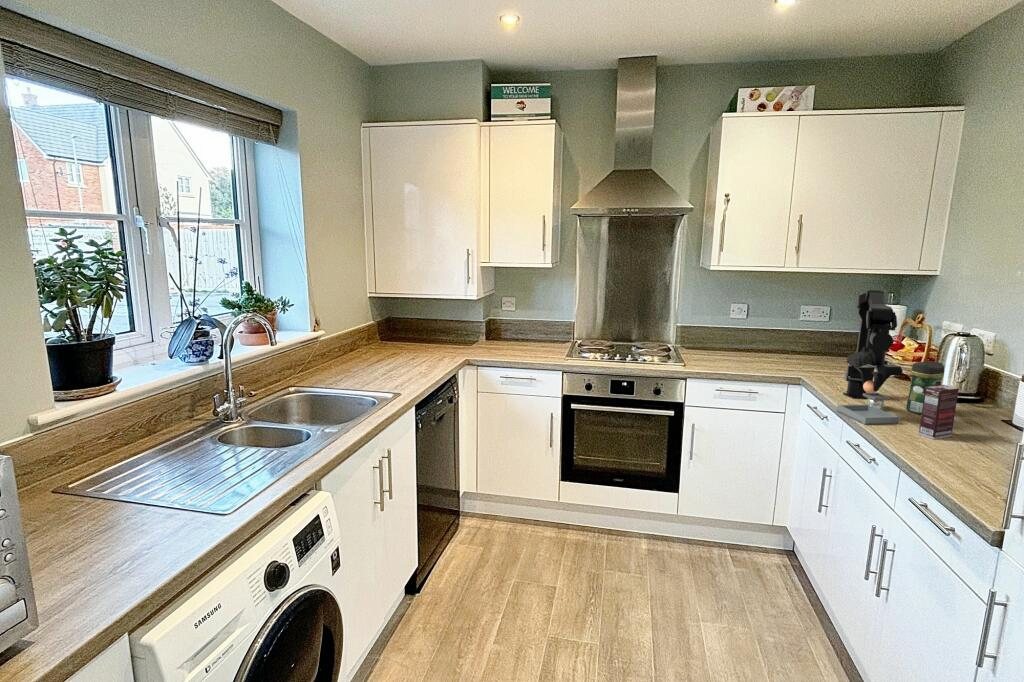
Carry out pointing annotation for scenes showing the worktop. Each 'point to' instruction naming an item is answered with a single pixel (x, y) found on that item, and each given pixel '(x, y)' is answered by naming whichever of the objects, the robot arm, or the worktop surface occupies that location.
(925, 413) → the supplement box
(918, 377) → the coffee jar
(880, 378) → the robot arm
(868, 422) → the tray
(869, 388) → the ball
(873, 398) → the hollow square frame
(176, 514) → the worktop surface
